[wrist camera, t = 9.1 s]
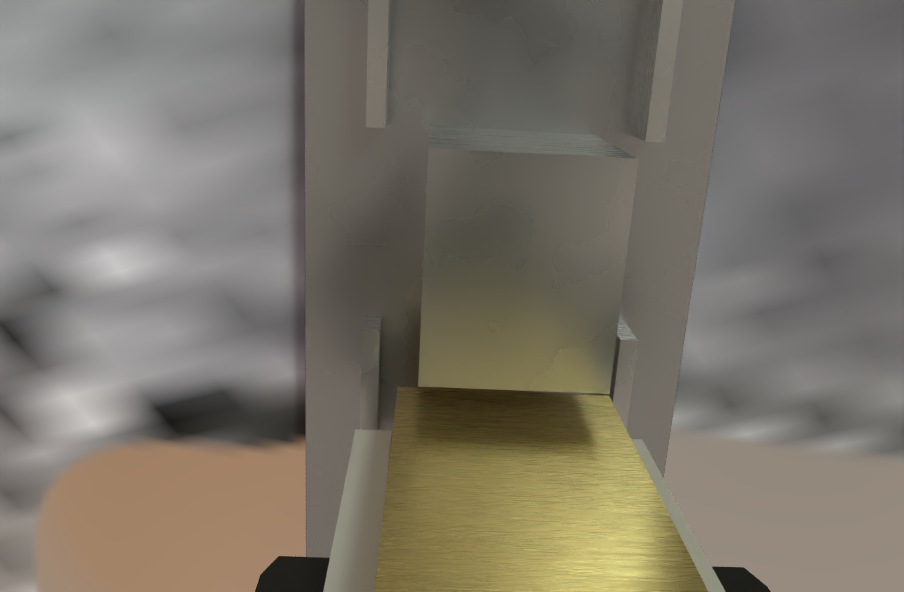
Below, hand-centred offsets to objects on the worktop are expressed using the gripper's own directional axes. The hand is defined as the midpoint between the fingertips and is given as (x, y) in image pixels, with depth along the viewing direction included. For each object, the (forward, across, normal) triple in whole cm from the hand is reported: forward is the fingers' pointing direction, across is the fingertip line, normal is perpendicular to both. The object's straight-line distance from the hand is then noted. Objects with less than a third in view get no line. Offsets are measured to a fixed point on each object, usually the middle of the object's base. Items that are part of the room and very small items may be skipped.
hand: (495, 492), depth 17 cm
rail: (+3, 0, +5) cm, 6 cm away
